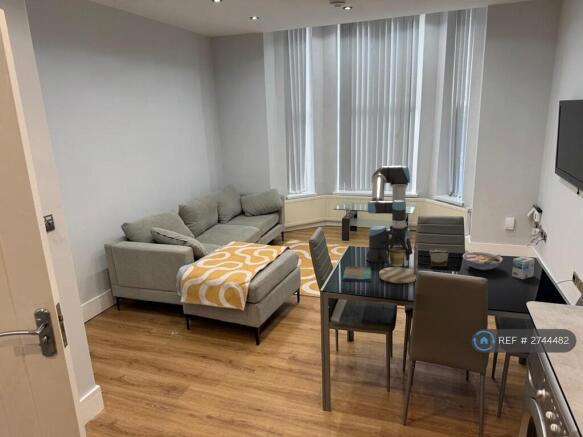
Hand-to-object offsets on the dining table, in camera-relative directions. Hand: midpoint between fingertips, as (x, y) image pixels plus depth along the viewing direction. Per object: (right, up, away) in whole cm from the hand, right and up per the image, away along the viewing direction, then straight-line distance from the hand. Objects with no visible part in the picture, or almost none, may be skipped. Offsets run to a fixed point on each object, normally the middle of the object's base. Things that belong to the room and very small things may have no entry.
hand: (398, 263), depth 236 cm
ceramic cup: (0, 0, 0) cm, 1 cm away
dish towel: (-22, -9, +12) cm, 27 cm away
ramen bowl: (+56, -5, +14) cm, 58 cm away
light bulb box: (+73, -7, -1) cm, 73 cm away
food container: (+33, -3, +25) cm, 41 cm away
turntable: (0, -8, +2) cm, 8 cm away
